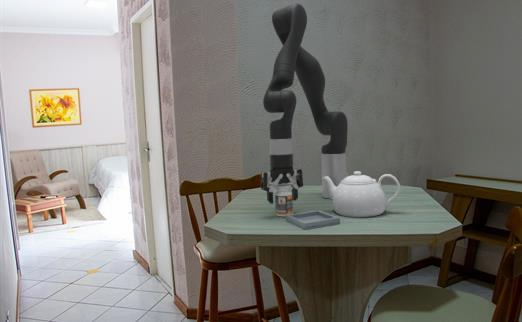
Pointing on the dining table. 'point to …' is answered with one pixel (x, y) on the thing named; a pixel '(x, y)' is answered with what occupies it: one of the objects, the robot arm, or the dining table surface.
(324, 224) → the dish
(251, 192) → the dining table surface
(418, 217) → the dining table surface
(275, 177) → the robot arm
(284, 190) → the pill bottle
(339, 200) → the teapot
